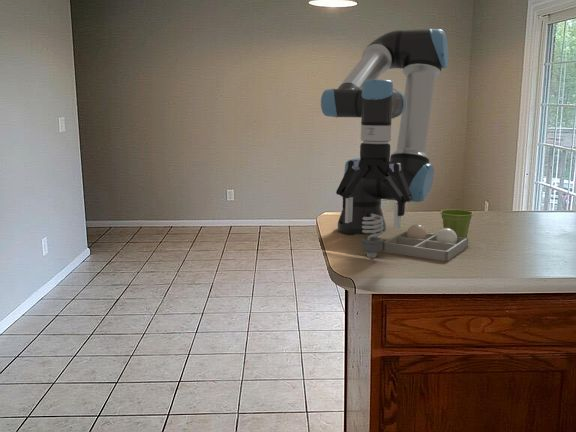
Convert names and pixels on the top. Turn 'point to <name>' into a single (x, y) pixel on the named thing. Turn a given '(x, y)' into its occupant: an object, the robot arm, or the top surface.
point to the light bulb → (372, 235)
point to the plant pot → (457, 221)
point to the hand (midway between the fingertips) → (372, 225)
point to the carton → (424, 247)
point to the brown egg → (417, 232)
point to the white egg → (446, 236)
